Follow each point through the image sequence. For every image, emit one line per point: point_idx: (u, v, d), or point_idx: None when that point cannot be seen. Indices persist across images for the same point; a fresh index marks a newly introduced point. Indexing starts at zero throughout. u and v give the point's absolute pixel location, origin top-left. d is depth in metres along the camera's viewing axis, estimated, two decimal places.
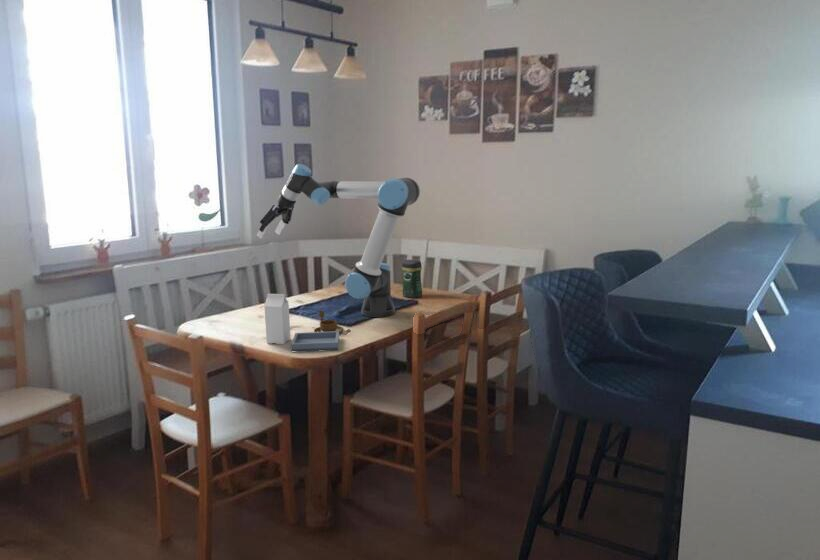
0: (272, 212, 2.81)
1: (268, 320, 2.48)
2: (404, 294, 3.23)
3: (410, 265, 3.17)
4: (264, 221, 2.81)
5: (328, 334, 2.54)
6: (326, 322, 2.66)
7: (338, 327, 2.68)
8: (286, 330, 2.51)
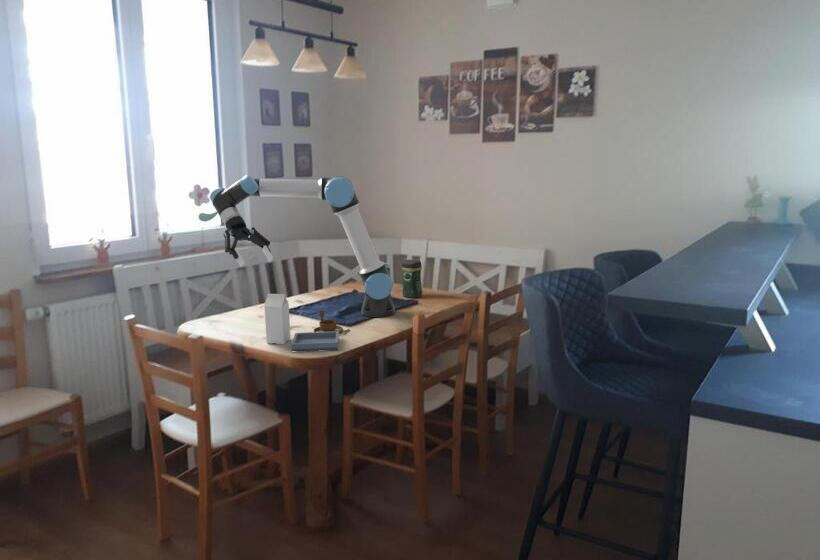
0: (226, 236, 2.53)
1: (268, 320, 2.48)
2: (404, 294, 3.23)
3: (410, 265, 3.17)
4: (226, 246, 2.50)
5: (328, 334, 2.54)
6: (326, 322, 2.67)
7: (338, 327, 2.69)
8: (286, 330, 2.51)
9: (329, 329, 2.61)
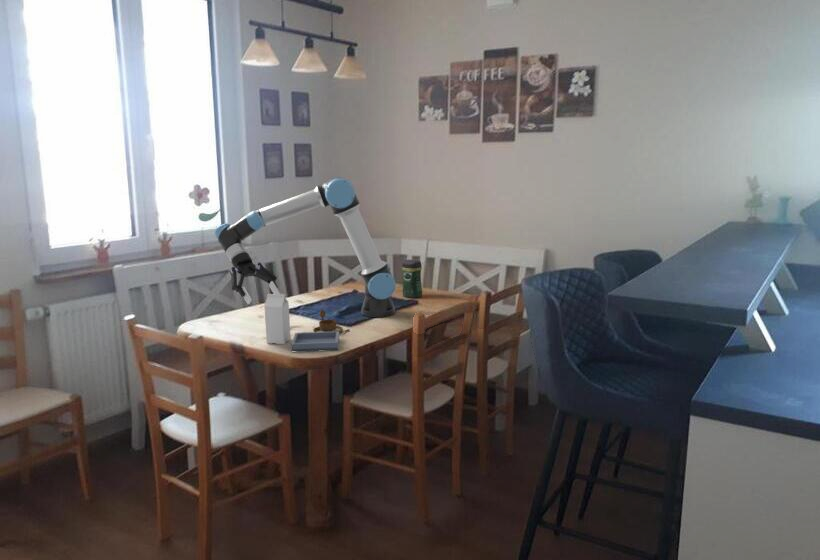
0: (232, 273, 2.52)
1: (268, 320, 2.48)
2: (404, 294, 3.23)
3: (410, 265, 3.17)
4: (233, 284, 2.49)
5: (328, 334, 2.54)
6: (326, 322, 2.67)
7: (338, 327, 2.69)
8: (286, 330, 2.51)
9: (328, 329, 2.61)
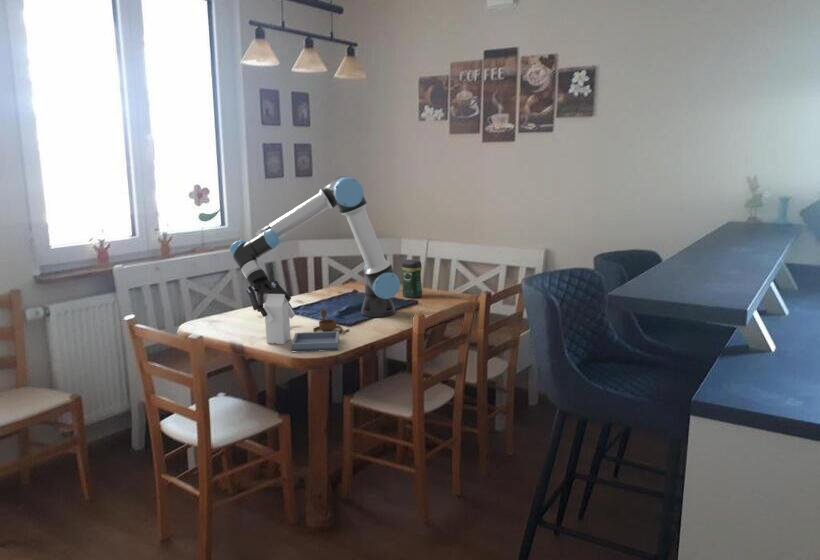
0: (251, 293, 2.48)
1: None
2: (404, 294, 3.23)
3: (410, 265, 3.17)
4: (254, 304, 2.46)
5: (328, 334, 2.54)
6: (326, 321, 2.68)
7: (338, 327, 2.69)
8: (286, 330, 2.51)
9: (328, 329, 2.62)
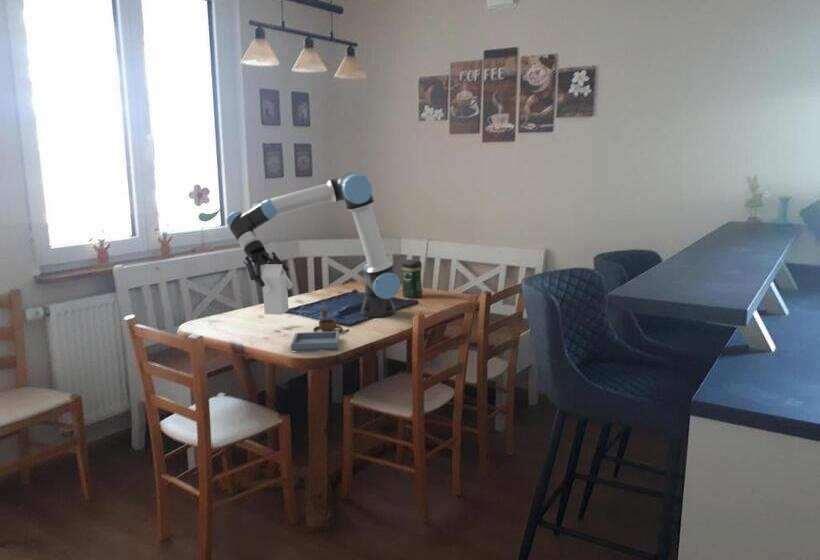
0: (248, 263, 2.46)
1: None
2: (404, 294, 3.23)
3: (410, 265, 3.17)
4: (251, 274, 2.43)
5: (328, 334, 2.54)
6: (326, 321, 2.68)
7: (338, 326, 2.69)
8: (284, 301, 2.48)
9: (328, 328, 2.62)
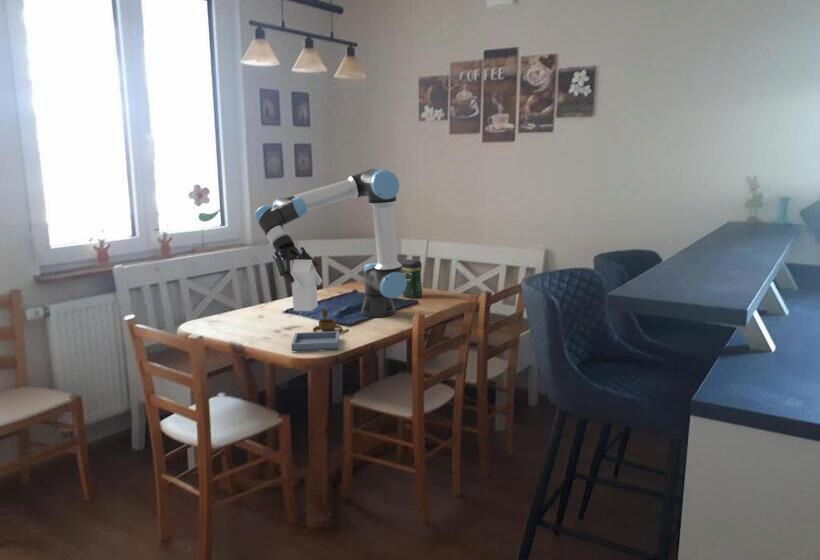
0: (277, 258, 2.40)
1: None
2: (404, 294, 3.23)
3: (410, 265, 3.17)
4: (281, 270, 2.38)
5: (328, 334, 2.54)
6: (326, 321, 2.68)
7: (338, 326, 2.70)
8: (313, 297, 2.43)
9: (327, 328, 2.62)
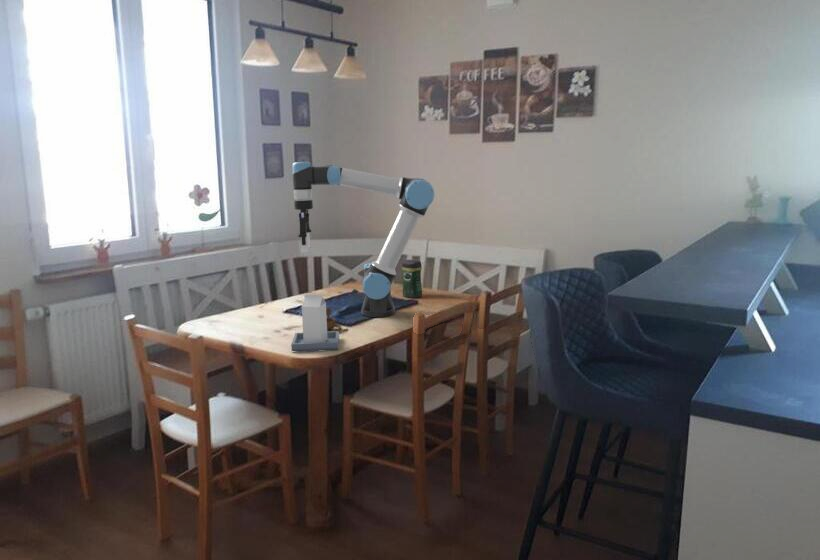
0: (304, 219, 2.63)
1: (305, 320, 2.42)
2: (404, 294, 3.23)
3: (410, 265, 3.17)
4: (303, 231, 2.62)
5: (328, 334, 2.54)
6: None
7: (338, 325, 2.71)
8: (323, 332, 2.45)
9: None
